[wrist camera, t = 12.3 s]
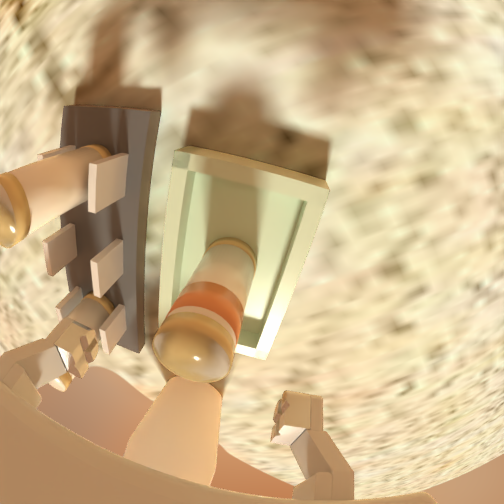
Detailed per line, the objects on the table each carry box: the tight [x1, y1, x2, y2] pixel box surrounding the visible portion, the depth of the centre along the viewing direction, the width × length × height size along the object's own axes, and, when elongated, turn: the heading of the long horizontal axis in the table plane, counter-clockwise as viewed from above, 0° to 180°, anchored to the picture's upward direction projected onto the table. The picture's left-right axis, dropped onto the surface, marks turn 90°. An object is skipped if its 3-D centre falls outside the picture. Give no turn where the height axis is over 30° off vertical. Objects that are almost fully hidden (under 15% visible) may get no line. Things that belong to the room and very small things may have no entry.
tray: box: [158, 146, 330, 360], centre depth 19 cm, size 14×9×2 cm, turn 167°
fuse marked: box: [152, 237, 257, 383], centre depth 16 cm, size 4×4×9 cm
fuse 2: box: [48, 291, 115, 391], centre depth 19 cm, size 4×4×9 cm
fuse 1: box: [0, 144, 112, 248], centre depth 13 cm, size 4×4×9 cm
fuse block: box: [38, 105, 161, 355], centre depth 19 cm, size 22×8×5 cm, turn 167°
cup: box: [123, 376, 222, 486], centre depth 24 cm, size 9×9×12 cm
